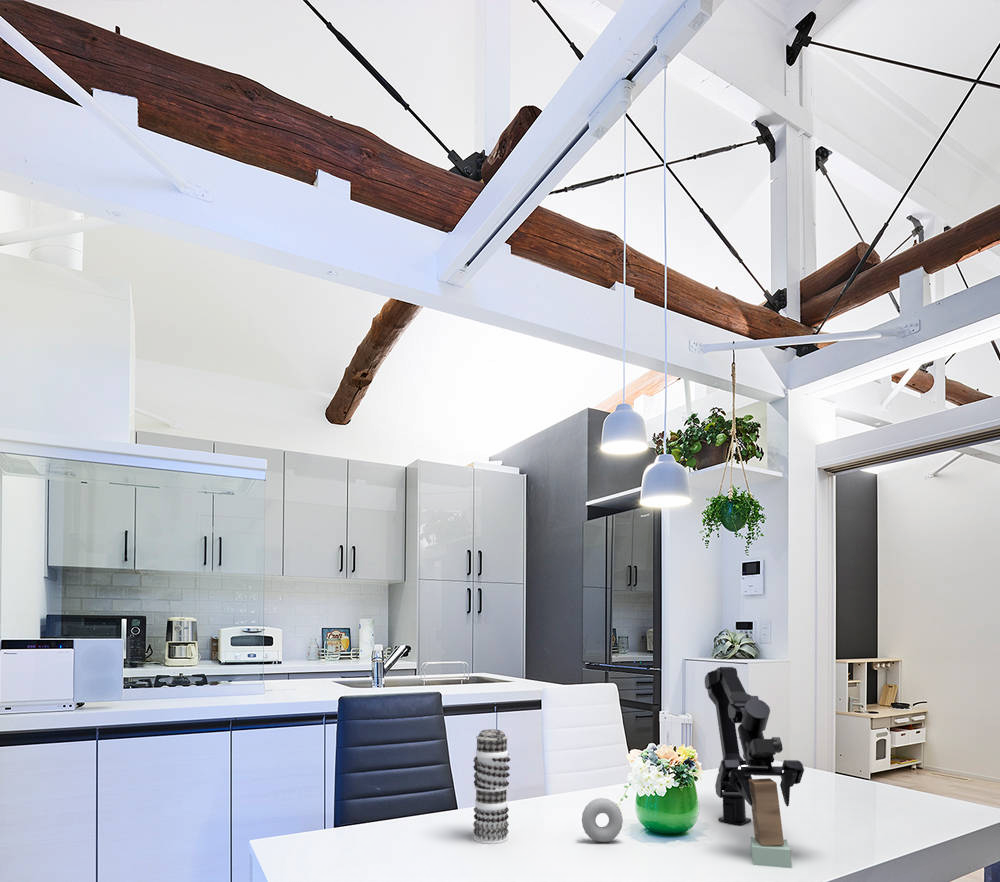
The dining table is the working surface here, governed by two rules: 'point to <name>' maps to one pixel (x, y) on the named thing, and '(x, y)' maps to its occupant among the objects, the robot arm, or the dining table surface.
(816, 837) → the dining table surface
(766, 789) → the walnut pillar
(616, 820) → the donut
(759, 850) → the sage slab
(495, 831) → the white grey cylinder
